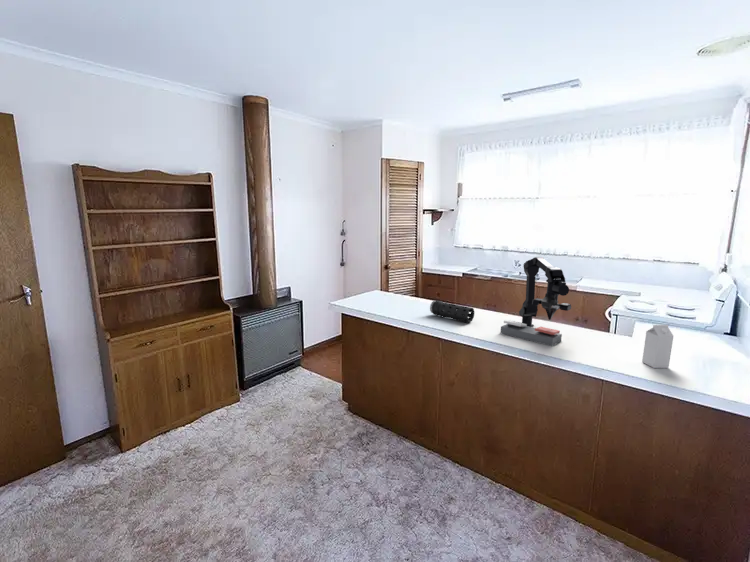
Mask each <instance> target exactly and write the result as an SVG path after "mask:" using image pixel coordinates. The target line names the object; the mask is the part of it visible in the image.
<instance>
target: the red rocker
mask: <svg viewBox="0 0 750 562" xmlns="http://www.w3.org/2000/svg"><path fill="white" fill-rule="evenodd" d="M534 328H535V331H539V332H543V333H548V334H552V335H555V334H558V333H560V332H561V331H560V330H558V329H555V328H554V329H553V328H550V327H545V326H539V327H534ZM560 334H561V333H560Z"/></svg>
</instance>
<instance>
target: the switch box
mask: <svg viewBox="0 0 750 562" xmlns="http://www.w3.org/2000/svg"><path fill="white" fill-rule="evenodd" d="M535 328H536V327H534V326H532V327H529V326H523V327H520V326H515V325H511V324H507V323H505V324H504V325H501V326H500V334H501V333H502V335H505V334H506V336H509V335H510V336H511V337H514V338H518V339H522V340H526V341H529V342H530V341H531V342H535V343H538V344H542V345H545V346H551V347H553V346H555V345H557V344H559V343H560V342H562V337H563V335H562V333H558V334H555V335H552V334H548V333H543V332H539V331H535Z"/></svg>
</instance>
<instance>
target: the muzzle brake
mask: <svg viewBox="0 0 750 562" xmlns="http://www.w3.org/2000/svg"><path fill="white" fill-rule="evenodd" d="M429 311H430V313H431V314H433V315H435V316H439V317H440V316H443V317H446V318H449V319H452V320H453V319H454V320H455V321H457V320H459V321H458V322H462V321H463V322H462V323H466V322H467V324H471V322H473V320H474V317H475V309H474V307H470V306H464V305H460V304H459V305H458V304H454V303H449V302H445V301H444V302H443V301H442V300H433V301H431V303H430V306H429ZM443 317H442V318H443Z"/></svg>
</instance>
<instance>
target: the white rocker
mask: <svg viewBox="0 0 750 562" xmlns="http://www.w3.org/2000/svg"><path fill="white" fill-rule="evenodd" d="M503 324H511V325H515V326H520V327H523V326H527V324H524V323H522V322H520V321H515V320H503Z"/></svg>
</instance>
